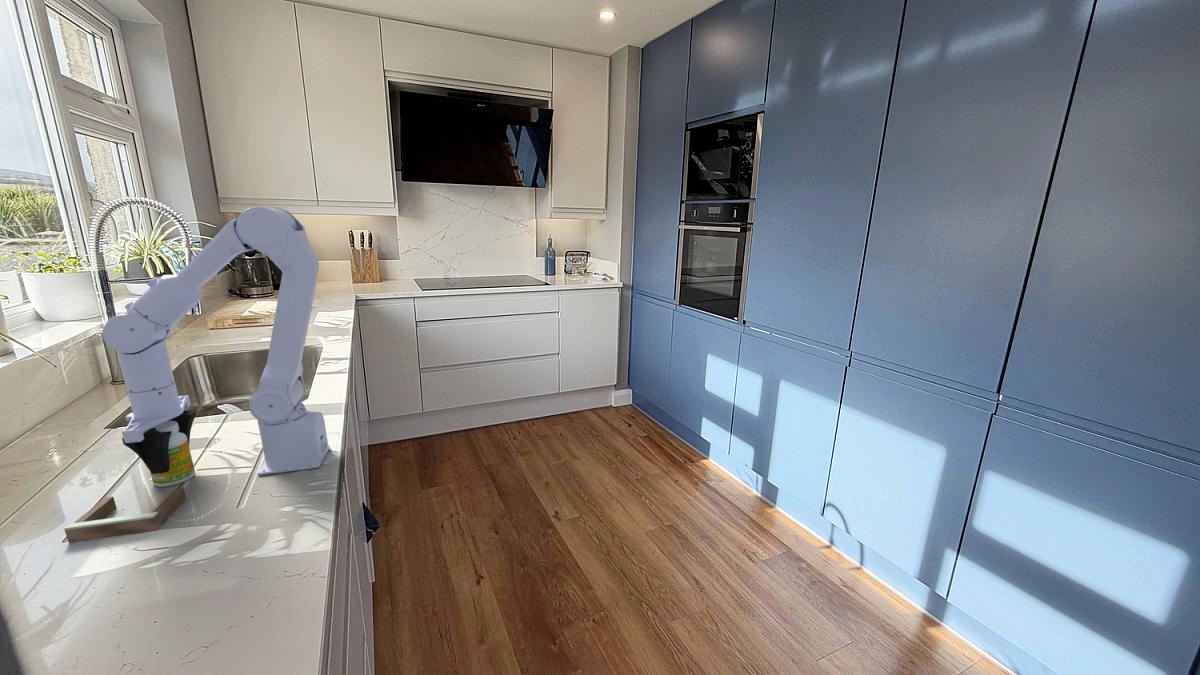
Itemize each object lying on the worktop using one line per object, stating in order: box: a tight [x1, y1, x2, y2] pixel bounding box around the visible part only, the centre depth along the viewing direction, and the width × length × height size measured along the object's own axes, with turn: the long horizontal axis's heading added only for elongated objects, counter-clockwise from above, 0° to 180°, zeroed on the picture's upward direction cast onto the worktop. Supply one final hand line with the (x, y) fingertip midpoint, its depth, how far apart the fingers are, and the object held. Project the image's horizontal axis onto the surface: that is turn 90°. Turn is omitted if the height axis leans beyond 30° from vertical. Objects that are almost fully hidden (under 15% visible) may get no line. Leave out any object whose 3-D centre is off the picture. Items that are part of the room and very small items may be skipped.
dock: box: [64, 487, 188, 544], centre depth 71 cm, size 10×8×2 cm
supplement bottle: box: [149, 421, 196, 488], centre depth 81 cm, size 5×5×10 cm
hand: (171, 463), depth 81 cm, fingers closed on supplement bottle, 5 cm apart
